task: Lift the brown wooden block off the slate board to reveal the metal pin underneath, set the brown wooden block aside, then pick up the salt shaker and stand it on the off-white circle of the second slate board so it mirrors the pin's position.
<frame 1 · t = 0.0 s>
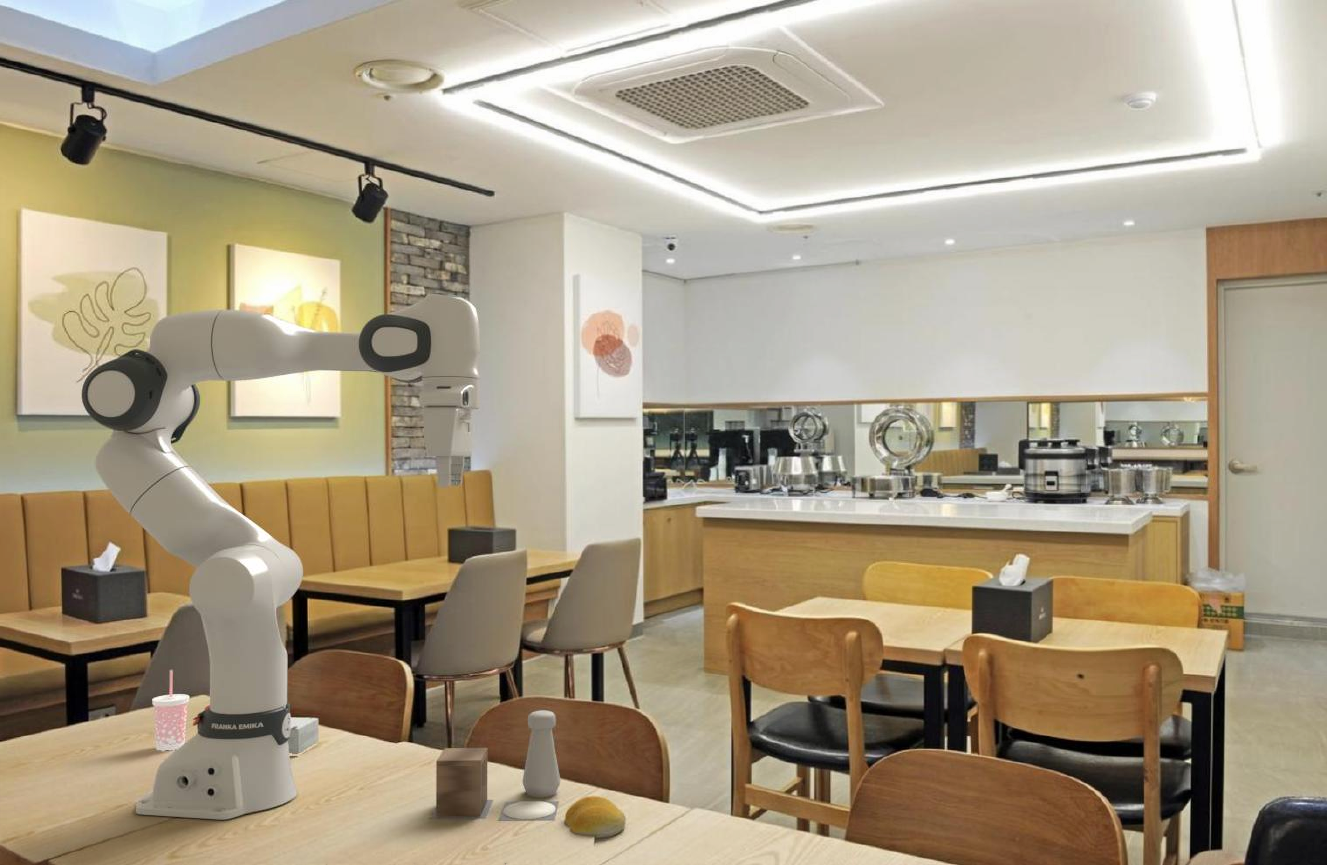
hand: (450, 486, 158), 48 cm above the table, tool pointing down, fingers open, 8 cm apart
salt shaker: (541, 797, 157), on the table
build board: (529, 814, 149), on the table
brown wooden block: (462, 808, 150), point 1 cm above the table, touching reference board
bread roll: (594, 830, 144), on the table
beverage cup: (170, 748, 184), on the table
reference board: (462, 812, 150), on the table
small box: (288, 751, 183), on the table
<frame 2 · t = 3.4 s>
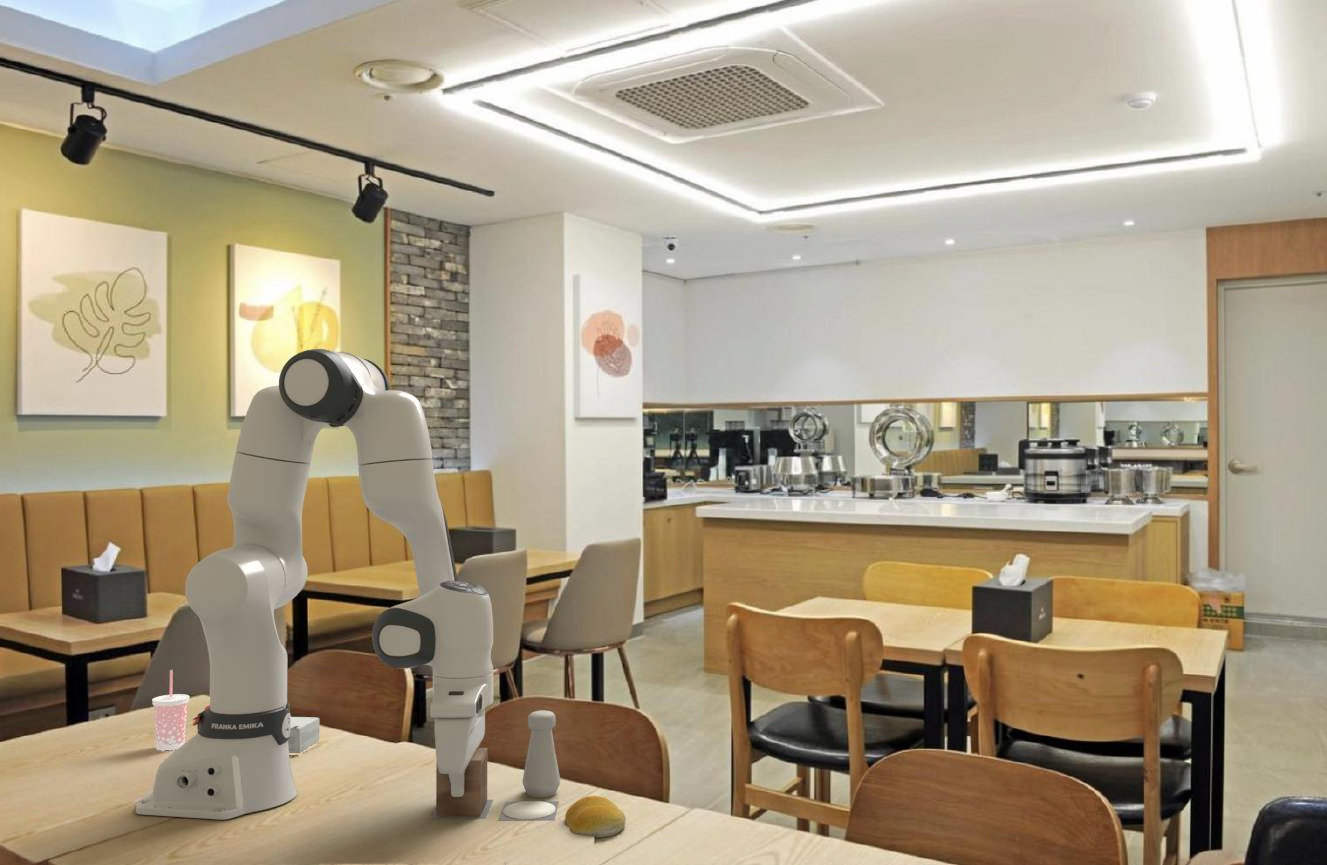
hand: (462, 786, 150), 4 cm above the table, tool pointing down, fingers closed on brown wooden block, 6 cm apart
brown wooden block: (462, 808, 150), point 1 cm above the table, touching gripper, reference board
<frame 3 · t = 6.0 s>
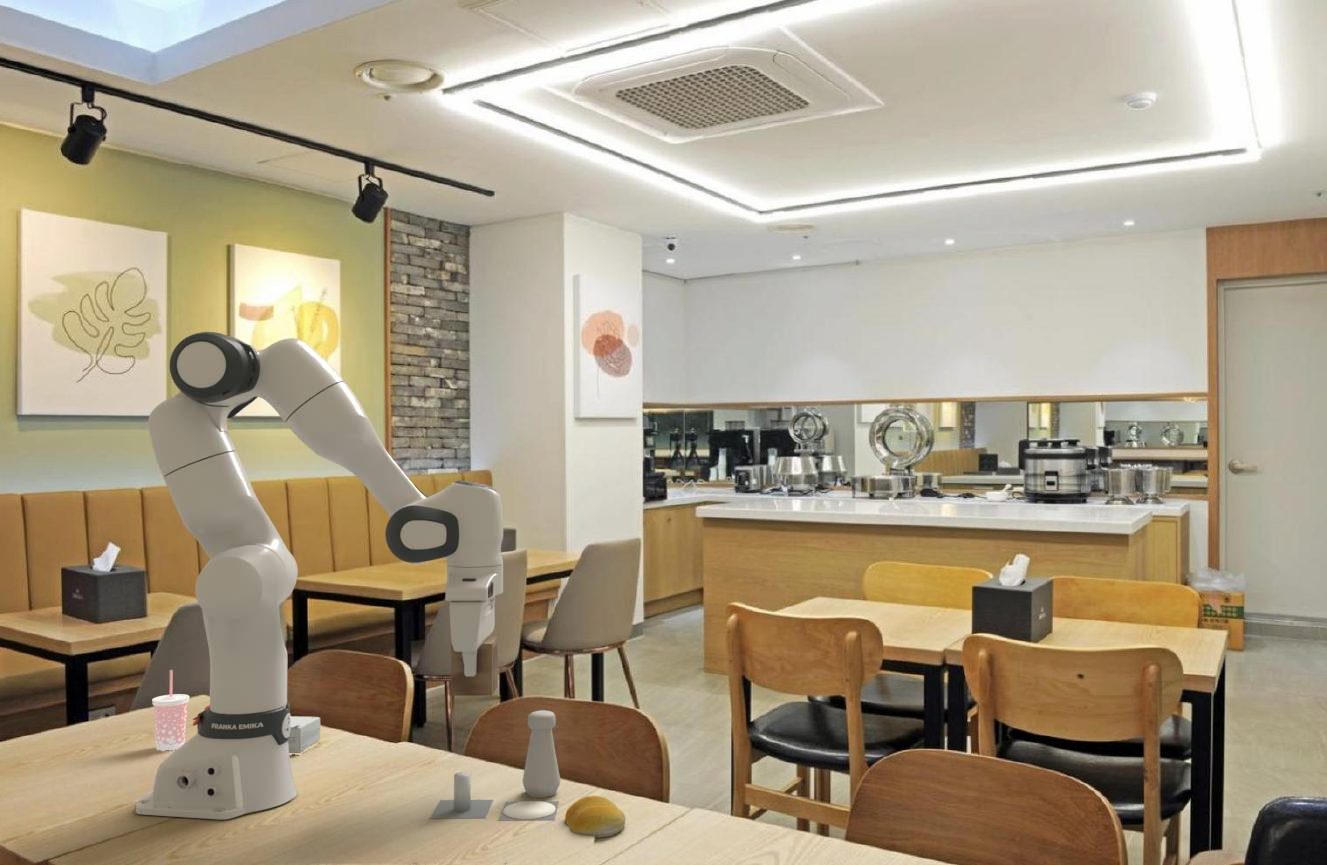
hand: (474, 670, 161), 19 cm above the table, tool pointing down, fingers closed on brown wooden block, 6 cm apart
brown wooden block: (474, 690, 161), point 15 cm above the table, touching gripper
when the fingers open (5 cm above the table, at t = 8.6 s): brown wooden block drops 1 cm, on the table.
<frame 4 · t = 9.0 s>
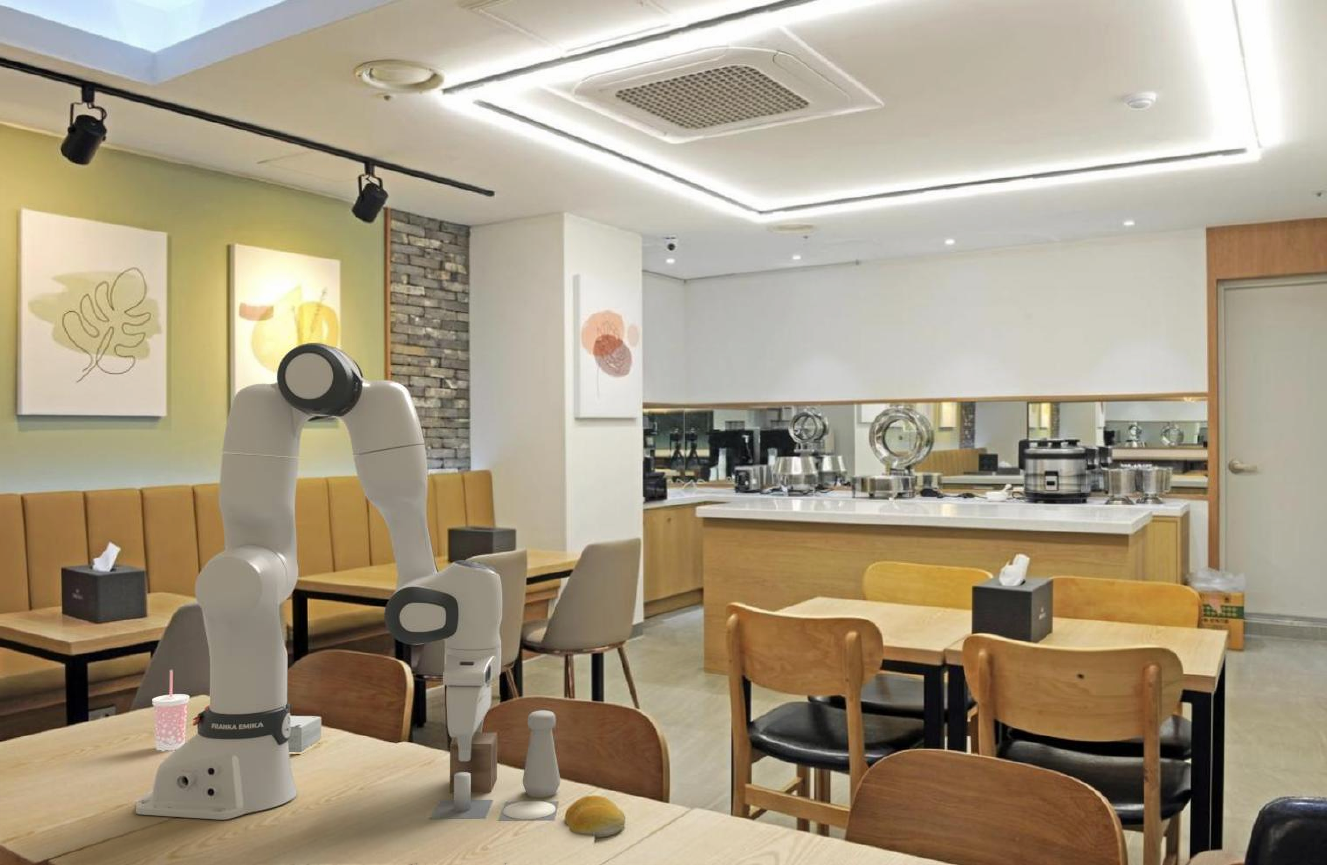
hand: (470, 751, 161), 6 cm above the table, tool pointing down, fingers open, 8 cm apart
brown wooden block: (473, 788, 161), on the table
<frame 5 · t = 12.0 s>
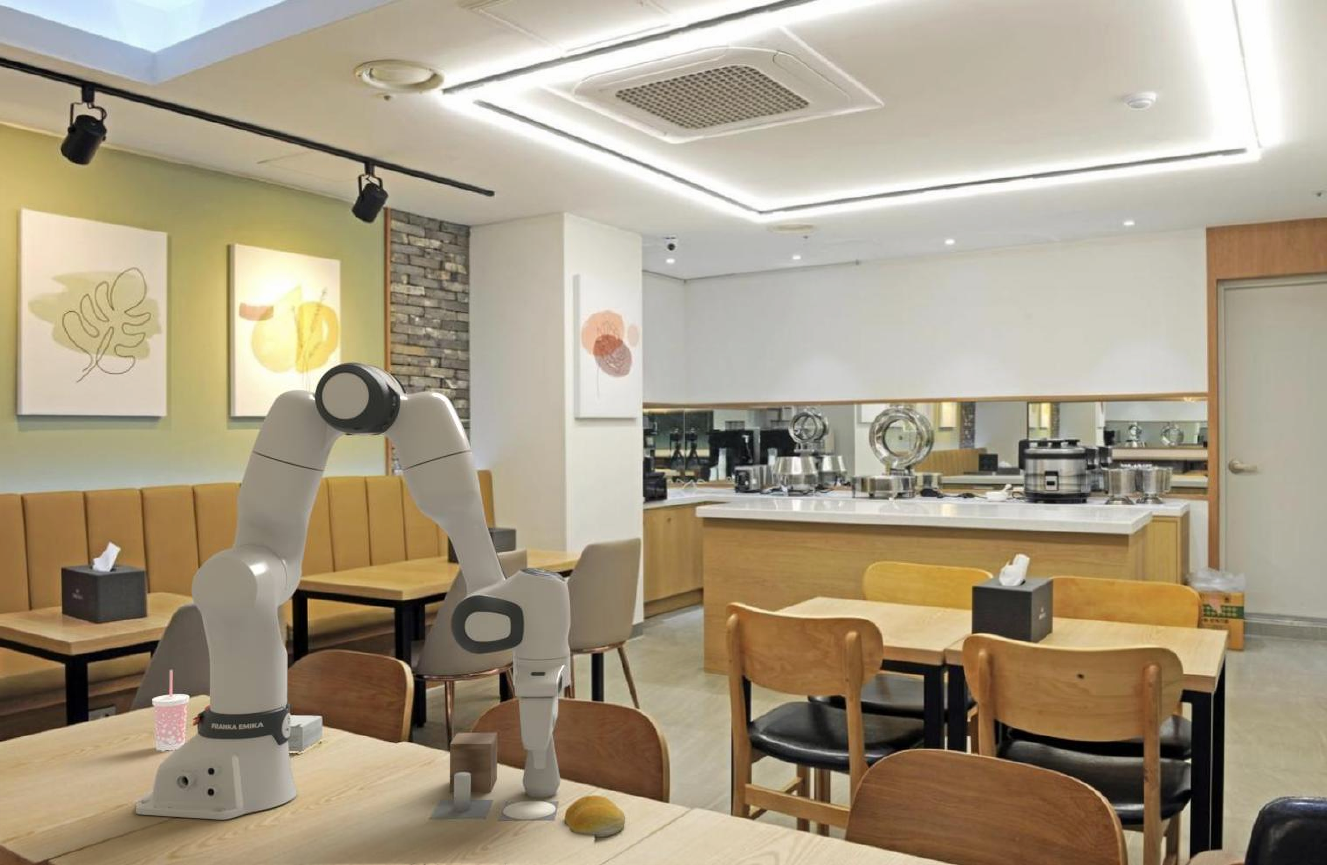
hand: (541, 763, 157), 5 cm above the table, tool pointing down, fingers closed on salt shaker, 3 cm apart
salt shaker: (541, 797, 157), on the table, touching gripper
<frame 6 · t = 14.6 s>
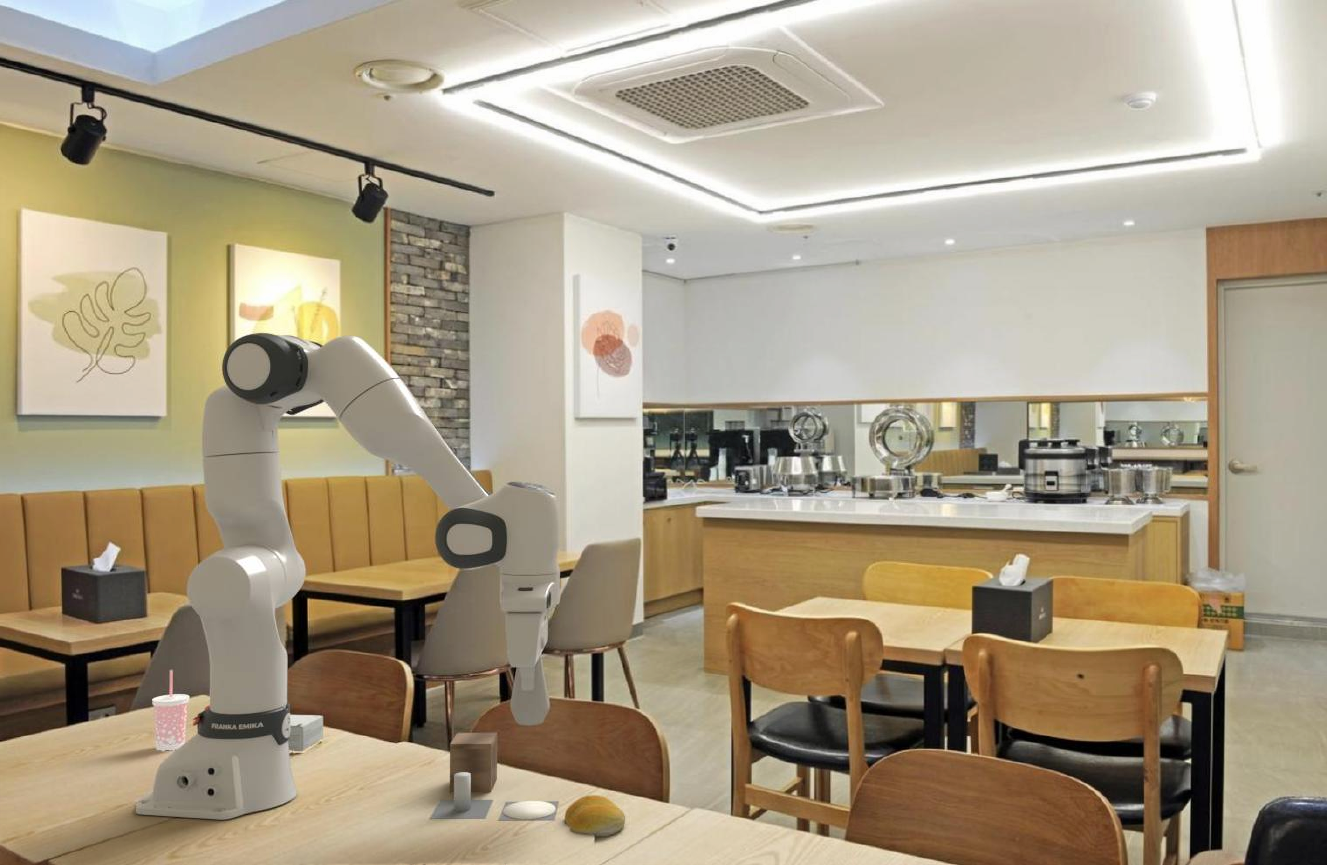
hand: (529, 686, 150), 19 cm above the table, tool pointing down, fingers closed on salt shaker, 3 cm apart
salt shaker: (530, 723, 149), point 13 cm above the table, touching gripper
when the fingers open (7 cm above the table, at t = 16.9 s): salt shaker drops 1 cm, resting on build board.
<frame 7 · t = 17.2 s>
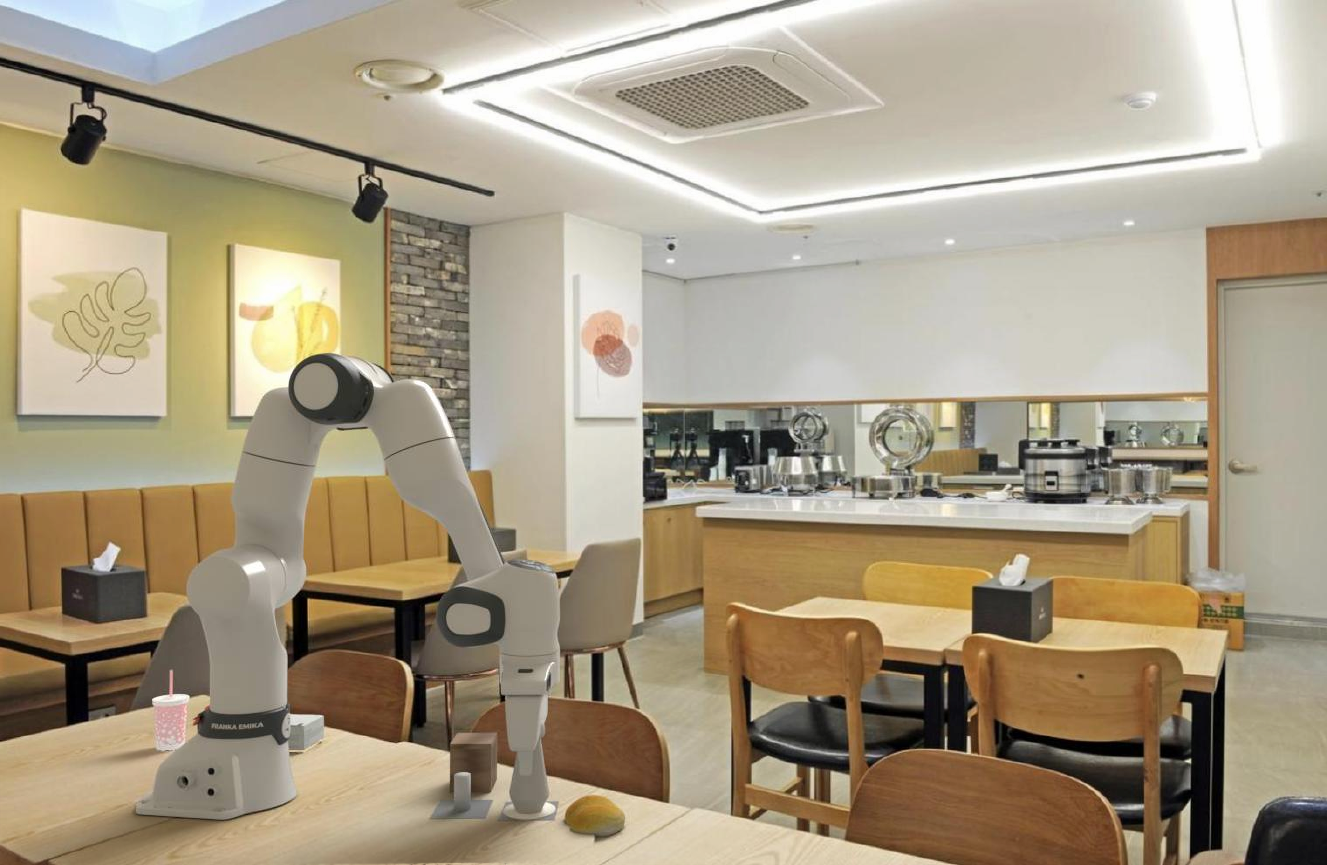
hand: (529, 765, 149), 7 cm above the table, tool pointing down, fingers open, 7 cm apart
salt shaker: (529, 810, 149), point 1 cm above the table, touching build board
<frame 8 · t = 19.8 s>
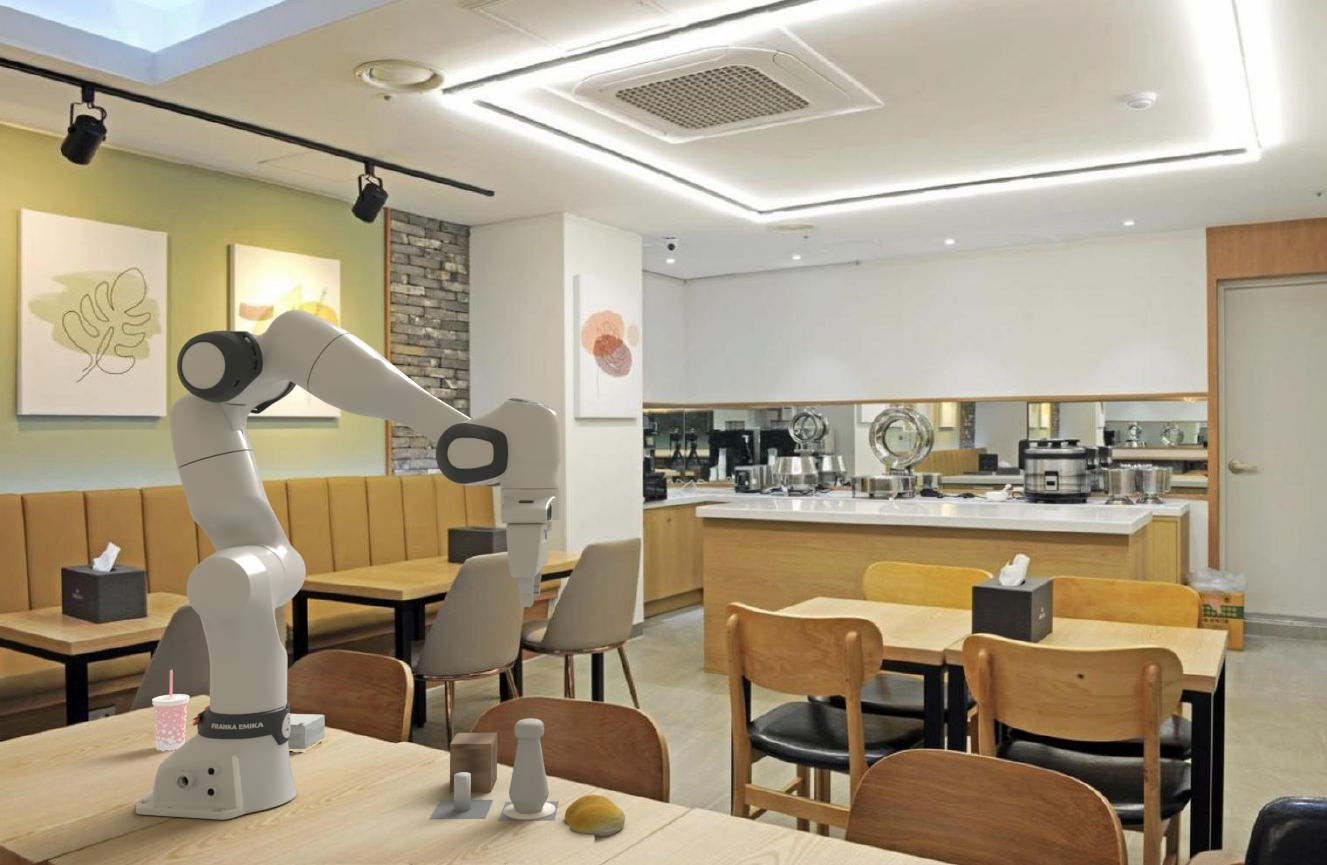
hand: (530, 601, 150), 31 cm above the table, tool pointing down, fingers open, 8 cm apart
at the end: salt shaker 0.1 cm from the target spot, point 0.6 cm above the table; salt shaker tilted 0°; brown wooden block moved 11.0 cm from its start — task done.
